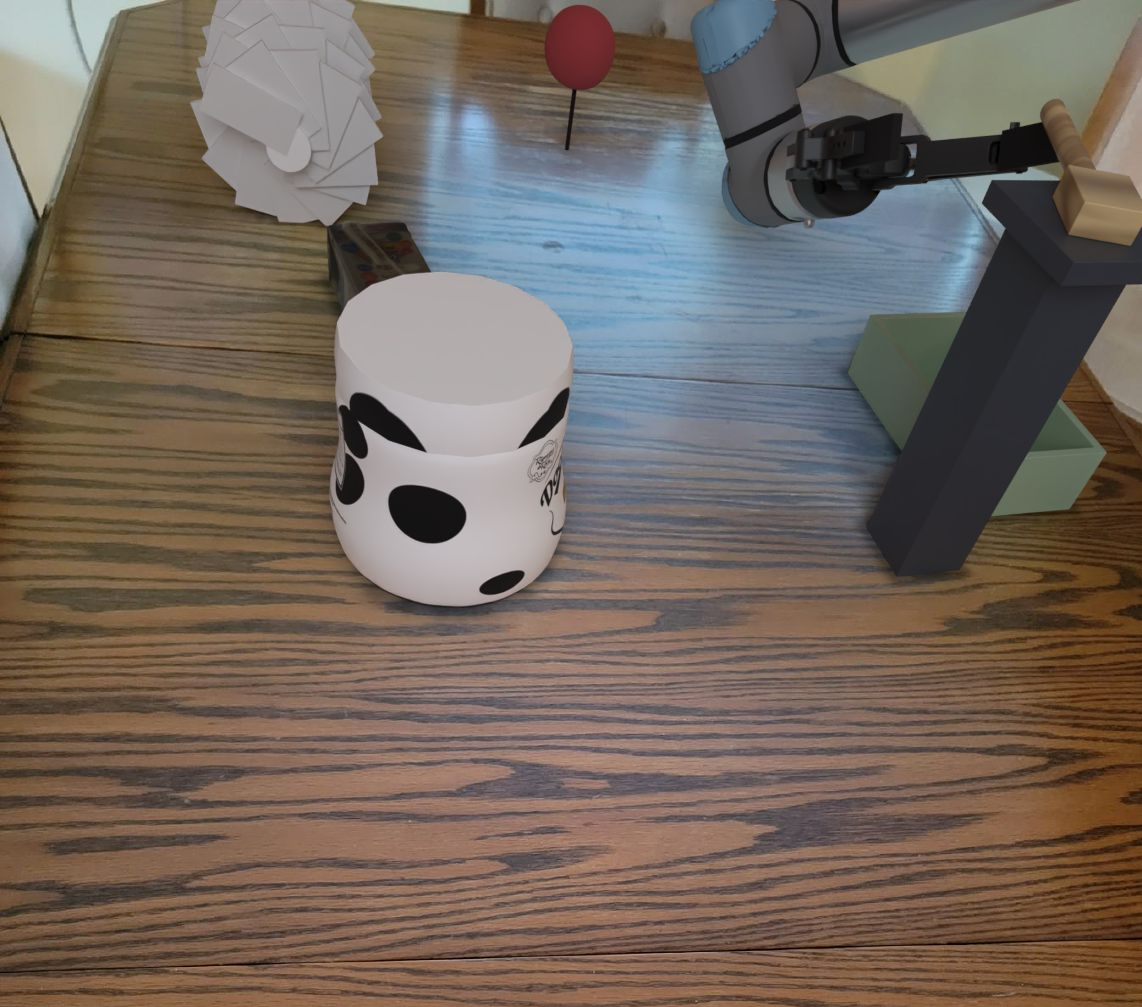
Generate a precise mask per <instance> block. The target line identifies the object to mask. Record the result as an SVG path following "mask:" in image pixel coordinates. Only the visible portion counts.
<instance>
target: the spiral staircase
mask: <svg viewBox="0 0 1142 1007" xmlns="http://www.w3.org/2000/svg"><path fill="white" fill-rule="evenodd" d="M355 8H356V5H355V4H354V3H353V2H350V1H349V0H216V3H215V6H214V9H213V13H212V16H211V21H210V24H206V25H203V26H201V30H202V34H203V35H204V38H205V41H206V47H205V52H204V54H202V55H200V56H198V57H197V60H198V62H199V64H200V66H199V67H195V72H196V75H197V78H198V82H199V85H200V88H201V91H202V97H201V98H198V99H195V100H190V103H189V104H190V107H191V109H192V111H193V114H194V117H195V118H196V121H197V124H198V126H199V128H200V131H201V133H202V136H203V139H204V141H205V144H206V146H207V150H206V151H205V153H204V154H203V155H202V156H201V160H202V161H204V163H205V164H207V165H208V166H209V167H210V168H211V170H213V171H214V172H215V173H216V174H217V175H219V177H221V178H222V179H223V180H224V181H225V182H226V183H227V184H228V185H229V186H230V187H231V188H233V190H234V191H235V200H234V204H235V205H236V206H240V207H243V208H247V209H250V210H253V211H258V212H260V213H263V214H267V215H271V216H274V217H277V221H278V223H296V224H297V223H298V224H299V223H300V224H305V223H310V222H313V221H317V220H319V221H320V222H321V223H322V224H323V225H324V226H325V227H328V226H329V225H334V223H335V222H336V221H337V220H338V219H339V218H340V217H341V216H342V215H343V214H344V212H345V211H347V209H349V208H350V206H351V205H353V203H357V204H358V205H359V204H360V205H363V206H367V203H368V197H369V193H370V189H371V186H379V179H378V178H379V177H378V169H377V160H376V148H375V143H376V142H378V141H379V140H380V139H382V138H383V137H384V134H383V132H382V131H381V129H380V128H379V126H378V124H377V121H379V120H380V119H382V118H383V117H382V113H381V112H380V110H379V108H378V106H377V104H376V103H375V100H374V99H373V95H372V88H371V79H370V76H371V75H372V74H373V73H374V72H375V71H376V70H377V69H376V66H374V63H372V61H371V60H370V59H372V58H373V57H374V56H375V55H376V52H375V50H374V49H373V47H372V45H371V44H370V42H369V41H368V39H367V38H366V35H365V34H364V33H363V31H362V30H361V28H360V26H359V24H358V23H357V21H356V20H355V18H354V17H353V13H354V11H355Z"/></svg>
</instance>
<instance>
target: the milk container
mask: <svg viewBox="0 0 1142 1007" xmlns="http://www.w3.org/2000/svg"><path fill="white" fill-rule="evenodd" d="M333 357H334V358H333V359H334V368H335V374H336V375H335V376H336V377H335V384H334V385H335V386H334V393H335V405H336V414H337V415H336V416H337V425H338V444H337V448H336V452H335V456H334V459H333V463H332V467H331V472H330V477H329V489H328V490H329V491H328V492H329V494H328V496H329V507H330V513H331V517H332V522H333V527H334V530H335V533H336V535H337V538H338V541H339V544H340V547H341V549H342V551H343V552H344V555H345V556H346V557H347V559H348V560H349V561H350V563H351V564H352V565H353V566H354V567H355V569H356V571H357V572H359V573H360V575H362V576H363V577H364V578H365V579H367V580H368V581H369V582H370V583H372V584H374V585H375V586H376V587H378V588H379V589H381V590H382V591H384V592H386V593H387V594H390V595H392V596H394V597H397V598H400V599H402V600H405V601H409V602H412V603H415V604H419V605H423V606H429V607H438V608H451V609H452V608H453V609H456V608H457V609H459V608H460V609H463V608H473V607H477V606H478V607H479V606H483V605H487V604H492V603H497V602H500V601H502V600H504V599H507V598H509V597H511V596H513V595H515V594H517V593H519V592H521V591H522V590H524V589H525V588H527V587H529V585H531V584H532V583H533V582H534V581H535V580H536V579H537V578H538V577H539V576H540V575H541V574H542V573H543V572H544V570H545V569H547V567H548V565H549V564H550V561H551V560H552V558H553V556H554V554H555V552H556V549H557V546H558V544H559V542H560V539H561V537H562V532H563V529H564V525H565V519H566V513H567V490H566V482H565V481H566V480H565V477H564V469H563V465H562V464H563V463H562V454H563V444H564V441H565V440H564V439H565V434H566V429H567V424H568V419H569V418H568V417H569V412H570V399H569V398H570V395H571V390H572V386H573V381H574V366H575V365H574V362H575V352H574V344H573V342H572V338H571V337H570V333H569V330H568V328H567V326H566V323H565V322H564V320H562V319H561V317H560V316H559V315H557V313H556V312H554V310H552V309H551V307H550V306H549V305H547V303H546V302H545V301H542V300H541V299H539V298H537V297H535V296H533V295H532V294H529V293H528V292H526V291H524V290H523V289H521V288H519V287H517V286H515V285H511V284H508V283H505V282H502V281H499V280H495V279H491V278H488V277H485V276H481V275H476V274H467V273H458V272H447V271H431V272H430V273H418V274H405V275H401V276H398V277H395V278H391V279H388V280H385V281H382V282H379V283H376V284H372V285H370V286H369V287H368V288H366V289H365V290H363V291H362V292H361V293H359V294H358V295H356V296H355V297H353V298H352V299H351V300H349V301H348V302H347V304H346V306H345V308H344V310H343V312H342V311H341V314H340V315H339V318H338V320H337V322H336V327H335V331H334V350H333Z"/></svg>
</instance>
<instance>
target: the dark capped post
mask: <svg viewBox="0 0 1142 1007" xmlns="http://www.w3.org/2000/svg"><path fill="white" fill-rule="evenodd" d="M1060 181H1061V179H1060V180H1056V179H1055V180H1054V179H1053V180H1052V179H1051V180H1050V179H1049V180H1048V179H1042V180H1041V179H991V180H990V183H989V185H988V187H987V190H986V192H985V195H984V197H983V199H982V202H981V205H982V206H983V207H984V208H985V209H986V210H987V211H988V212H989V213H990V214H991V215H992V216H993V217H994V218H995V219H996V220H997V221H998V222H999V223H1000V224H1001V225H1002V227H1004V231H1003V232H1002V234H1001V237H1000V238H999V241H998V243H997V245H996V248H995V250H994V252H993V254H992V256H991V259H990V261H989V263H988V264H987V267H986V268H985V271H984V274H983V276H982V278H981V280H980V282H979V284H978V287H977V288H976V291H975V293H974V295H973V297H972V299H971V302H970V303H969V306H968V308H967V309H966V311H965V312H966V314H965V316H964V319H963V321H962V323H961V325H960V327H959V329H958V331H957V334H956V336H955V338H954V340H953V342H952V344H951V347H950V349H949V351H948V353H947V355H946V357H945V359H944V362H943V364H942V366H941V368H940V370H939V372H938V375H937V377H936V379H935V381H934V383H933V385H932V387H931V390H930V392H929V394H928V396H927V398H926V400H925V402H924V405H923V407H922V409H921V411H920V413H919V415H918V418H917V420H916V422H915V424H914V426H913V428H912V430H911V433H910V435H909V437H908V439H907V441H906V443H905V446H904V448H903V450H902V451H901V452H900V454H899V455H898V456H899V457H898V458H897V461H896V463H895V465H894V467H893V469H892V471H891V474H890V476H889V478H888V480H887V482H886V484H885V486H884V489H883V491H882V493H881V495H880V498H879V500H878V502H877V504H876V506H875V508H874V510H873V512H872V515H871V517H870V519H869V521H868V523H867V525H866V528H865V529H866V530H867V532H868V533H869V535H870V536H871V538H872V540H873V541H874V543H875V545H876V547H877V548H878V550H879V551H880V553H881V554H882V556H883V558H884V560H885V561H886V562H887V565H888V566H889V567H890V570H891V571H892V572H893V575H894V576H895V577H897V578H900V577H910V576H920V575H929V574H939V573H940V574H941V573H949V572H958V571H961V569H962V567H963V565H964V564H965V563H966V560H967V559H968V557H969V555H970V553H971V552H972V550H973V548H974V546H975V545H976V543H977V541H978V540H979V538H980V536H981V534H982V532H983V531H984V530H985V527H986V526H987V524H988V522H989V521H990V519H991V517H993V516H992V514H993V512H994V510H995V509H996V507H997V505H998V504H999V502H1000V500H1001V499H1002V497H1003V495H1004V493H1005V492H1006V490H1007V488H1008V487H1009V485H1010V483H1011V481H1012V480H1013V478H1014V476H1015V475H1016V473H1017V471H1018V469H1019V468H1020V466H1021V464H1022V463H1023V461H1024V459H1025V457H1026V456H1027V454H1028V452H1029V451H1030V449H1031V447H1032V445H1033V444H1034V442H1035V440H1036V439H1037V437H1038V435H1039V433H1040V432H1041V430H1042V428H1043V427H1044V425H1045V423H1046V421H1047V420H1048V418H1049V416H1050V415H1051V413H1052V411H1053V409H1054V408H1055V406H1056V404H1057V403H1058V401H1059V399H1061V398H1062V396H1063V394H1064V392H1065V391H1066V389H1067V388H1068V386H1069V384H1070V382H1071V380H1072V379H1073V378H1074V375H1075V373H1076V372H1077V370H1078V368H1079V367H1080V365H1081V363H1082V362H1083V360H1084V358H1085V356H1086V355H1087V354H1088V352H1089V349H1090V348H1091V346H1092V345H1093V343H1094V341H1095V340H1096V338H1097V336H1098V334H1099V332H1100V331H1101V329H1102V327H1103V325H1104V324H1105V323H1106V320H1107V319H1108V317H1109V316H1110V314H1111V312H1112V310H1113V308H1114V307H1115V305H1116V303H1117V301H1118V300H1119V298H1120V296H1121V295H1122V294H1123V291H1125V288H1126V286H1132V285H1133V286H1135V285H1136V286H1137V285H1138V286H1139V285H1142V227H1141V229H1140V231H1139V232H1138V234H1137V236H1136V238H1135V239H1134V241H1133V243H1132V245H1131V246H1127V245H1122V244H1116V243H1110V242H1105V241H1099V240H1094V239H1088V238H1083V237H1077V236H1071V235H1068V233H1067V231H1066V229H1065V226H1064V224H1063V221H1062V219H1061V217H1060V214H1059V212H1058V209H1057V207H1056V204H1055V202H1054V200H1053V195H1054V193H1055V191H1056V189H1057V187H1058V185H1059V183H1060Z"/></svg>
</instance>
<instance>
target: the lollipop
mask: <svg viewBox="0 0 1142 1007" xmlns="http://www.w3.org/2000/svg"><path fill="white" fill-rule="evenodd" d="M543 48H544V58H545V63H546V65H547V68H548V70H549V72H550V74H551V75H552V77H553V78H554V79H555V80H556V81H557V82H558V83H559V84H560V85H562V86H564V87H565V88H568V89H571V95H570V96H571V97H570V104H569V114H568V121H567V129H566V137H565V144H564V150H565V151H569V150H570V144H571V138H572V129H573V122H574V114H575V107H576V99H577V92H578V91H584V90H585V91H587V90H590V89H593V88H595V87H597V86H598V85H600V84H601V83H602V82H603V81H604V80H605V78H606V77H607V76H608V75H609V73H610V71H611V68H612V67H613V64H614V60H615V55H616V37H615V33H614V29H613V27H612V25H611V22H610V21H609V19H608V18H607V17H606V16H605V15H604V13H602V12H601V11H600V10H598V9H597V8H595V7H593V6H590V5H585V4H574V5H569V6H567V7H564V8H563V9H561V10H560V11H559V12H557V13H556V15H555V16H554V17H553V18H552V20H551V22H550V24H549V26H548V28H547V31H546V34H545V38H544V47H543Z"/></svg>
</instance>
